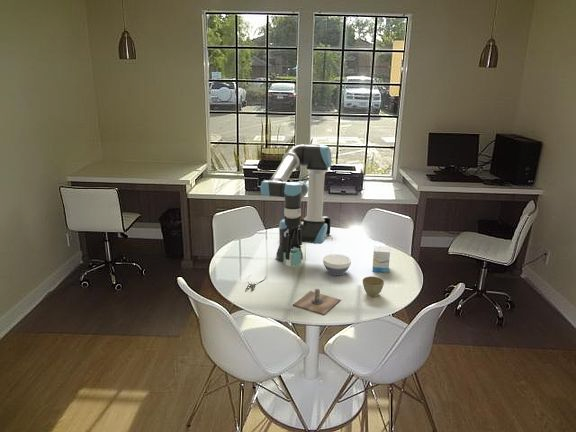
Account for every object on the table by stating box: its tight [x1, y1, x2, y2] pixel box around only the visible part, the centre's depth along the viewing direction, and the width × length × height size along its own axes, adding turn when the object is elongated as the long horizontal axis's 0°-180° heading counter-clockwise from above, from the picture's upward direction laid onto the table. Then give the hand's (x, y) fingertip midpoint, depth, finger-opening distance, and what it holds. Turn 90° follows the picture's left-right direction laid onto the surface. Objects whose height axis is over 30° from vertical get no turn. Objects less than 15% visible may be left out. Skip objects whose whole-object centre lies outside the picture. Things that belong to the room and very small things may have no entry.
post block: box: [292, 288, 342, 316], centre depth 204 cm, size 16×16×7 cm
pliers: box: [245, 283, 257, 292], centre depth 225 cm, size 10×1×20 cm
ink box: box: [372, 245, 391, 273], centre depth 242 cm, size 8×8×12 cm
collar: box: [283, 249, 302, 268], centre depth 212 cm, size 6×6×6 cm
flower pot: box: [362, 275, 385, 298], centre depth 213 cm, size 10×10×7 cm
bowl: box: [322, 253, 352, 276], centre depth 238 cm, size 14×14×8 cm
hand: (292, 262), depth 213 cm, fingers closed on collar, 6 cm apart
